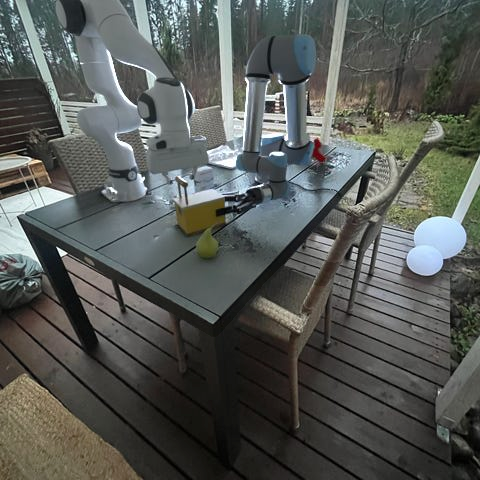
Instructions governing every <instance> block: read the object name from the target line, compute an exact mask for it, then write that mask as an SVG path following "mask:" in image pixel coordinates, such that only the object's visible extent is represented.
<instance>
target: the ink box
mask: <svg viewBox="0 0 480 480" xmlns="http://www.w3.org/2000/svg"><path fill="white" fill-rule="evenodd" d="M193 185H194V186H193V187H194V193H197V192H201V191H206V190H210V189H214V190H215V182H214V168H213V167H210V166H208V165H204V166H202V167H198V170H197V172H196V174H195V179H194V180H193Z"/></svg>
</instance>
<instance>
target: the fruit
mask: <svg viewBox="0 0 480 480" xmlns="http://www.w3.org/2000/svg"><path fill="white" fill-rule="evenodd" d="M217 224H218V221H217V222H216V224H214V225H213V226H212V227H211V228H208V229H207V230H206V231H205V232H202V235H201V236H200V237H199V239H198V240H197V241H196V245H195V249H196V252H197V254H198V255H199V256H200V257H201V258H203V259H212V258H214V257H215V256H216V254H217V253H218V250H219V243H218V240H217V239H215V238H214V237H213V234H212V230H213V229H212V228H213V227H214V226H215V225H217Z"/></svg>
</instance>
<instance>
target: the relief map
mask: <svg viewBox="0 0 480 480" xmlns="http://www.w3.org/2000/svg"><path fill="white" fill-rule="evenodd" d="M207 152H208V158H209V162H208V163H207V164H209V165H214V166H217V167H222V168H226V169H230V170H233V169H235V168H237V167H236V159H237V156H238V154H239V153H242V152H243V148H238V149H235V150H233V149H231V148H230V147H229V146H228V145H227V144H225V145H224V144H221V145H220V146H219V147H216V148H213V149H210V150H207Z"/></svg>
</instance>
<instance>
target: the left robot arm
mask: <svg viewBox="0 0 480 480" xmlns="http://www.w3.org/2000/svg"><path fill="white" fill-rule="evenodd" d="M54 4H55V6H54V7H55V14H56V16H57V19H58V21H59V24H60V26H61V27H62V28H63V30H64V31H65V32H66V33H67V34H69V35H71V36H74V38H75V45H76V51H77V56H78V60H79V64H80V67H81V70H82V74H83V77H84V81H85V85H86V86H87V88H88V89H89V90H90V91H91V92H92V93H95V94H97V95H99V96H101V97H103V99H104V100H105V102H106V104H99V105H91V106H87V107H84V108H81V109H79V110H78V111H77V114H76V123H77V126H78V128H79V129H80V131H81V132H82V134H85V135H86V136H87V137H89V138H91V139H93V140H95V141H96V142H97V143H98V144H99V146H101V148H102V150H103V151H104V154H105V157H106V160H107V163H108V167H107V170H108V177H107V178H106V179H105V180H104V184H103V188H104V189H103V190H101V195H103V197H105V198H106V199H108V201H110V202H111V203H119V202H120V203H121V202H133V201H137V200H140V199H142V198H144V197H145V196H146V194H147V191H148V187H146V186H145V183H144V180H145V179H146V178H145V177H142V174H140V173H139V167H138V164H137V163H136V159H135V155H134V150H133V148H132V146H131V145H130V144H128V143H126V142H123V141H120V140H119V139H118V137H117V134H122V133H123V134H124V133H129V132H132V131H136V130H137V129H140V128H141V127H142V125H143V122H144V123H146V124H147V125H153V126H156V125H159V133H157V134H155V135H153V136H151V137H149V138H146V140H145V145H146V147H148V148H147V149H146V151H145V162H146V169H147V171H148V172H149V173H150V174H152V175H158V174H161V176H163V177H164V178H165V179H166V184H167V185H168V186H171V185H173V184H174V182H173V178H172V177H168V176H169V172H175V171H180V170H185V169H190V168H191V173H188V176H189V177H188V178H189V180H190V181H194V179H195V174H196V172H197V170H198V168H199V167H201V166H207V165H208V164H209V163H208V162H209V158H208V152H207V151H208V141H207V138H206V137H205V136H202V135H196V136H191V132H190V131H191V130H190V125H189V121H190V120H191V118H192V116H193V115H194V112H195V101H194V98H193V96H192V94H191V93H190V92H189V90H188V89H186V87H185V86H184V85H183V83H182V82H181V81H180V80H179V79H178V77H177V76H176V74H175V73H174V71H173V69H171V67H170V65H169V64H168V62H167V61H166V59H165V58H164V56H163V55H162V54H161V52H160V51H159V50H158V49H157V48H156V46H155V45H154V44H152V43H151V42H150V41H148V40H147V39H146V38H145V37H144V35H143V34H142V33H141V32H140V31H139V29H138V28H137V27H136V26H135V24H134V22H133V20H132V19H131V16H130V14H129V13H128V11H127V9H126V7H125V5H124V4H123V3H122V2H121V1H120V0H54ZM112 57H113V59H115V60H117V61H118V62H120V63H123V64H126V65H129V66H134V67H137V68H140V69H141V70H142V69H143V70H145V71H147V72H148V73H150V74H152V75H153V76H154V77H155V79H154V81H153V85H152V86H151V87H150V88H149V89H147V90H144V91H142V92H140V94H139V95H138V97H137V100H136V104H134V103H133V102H131V101H130V100H129V99H128V98H127V97H126V95H125V94H124V93H123V91H122V89H121V87H120V85H119V82H118V81H119V80H118V79H117V75H116V72H115V67H114V64H113V59H112Z"/></svg>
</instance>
